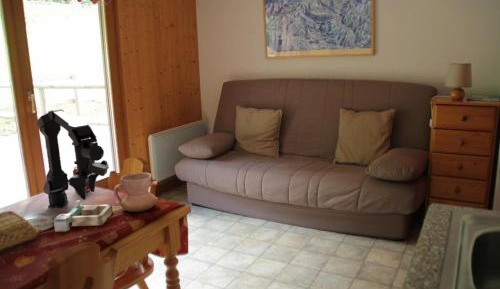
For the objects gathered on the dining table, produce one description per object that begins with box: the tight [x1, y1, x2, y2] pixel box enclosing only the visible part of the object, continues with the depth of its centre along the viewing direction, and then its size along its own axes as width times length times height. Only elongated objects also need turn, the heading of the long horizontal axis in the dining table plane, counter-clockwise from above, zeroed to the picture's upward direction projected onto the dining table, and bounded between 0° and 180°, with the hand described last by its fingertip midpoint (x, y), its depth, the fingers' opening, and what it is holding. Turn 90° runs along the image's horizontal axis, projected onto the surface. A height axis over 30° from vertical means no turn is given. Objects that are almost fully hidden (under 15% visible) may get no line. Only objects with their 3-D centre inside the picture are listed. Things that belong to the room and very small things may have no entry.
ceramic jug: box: [113, 172, 158, 213], centre depth 176 cm, size 18×14×14 cm
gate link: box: [67, 199, 84, 224], centre depth 167 cm, size 17×4×5 cm, turn 0°
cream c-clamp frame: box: [71, 203, 114, 227], centre depth 167 cm, size 12×13×4 cm
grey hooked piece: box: [53, 213, 82, 232], centre depth 166 cm, size 5×20×5 cm, turn 0°
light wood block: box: [81, 204, 100, 216], centre depth 167 cm, size 5×5×5 cm
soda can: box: [72, 166, 91, 193], centre depth 201 cm, size 7×7×12 cm
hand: (88, 195), depth 165 cm, fingers open, 9 cm apart
